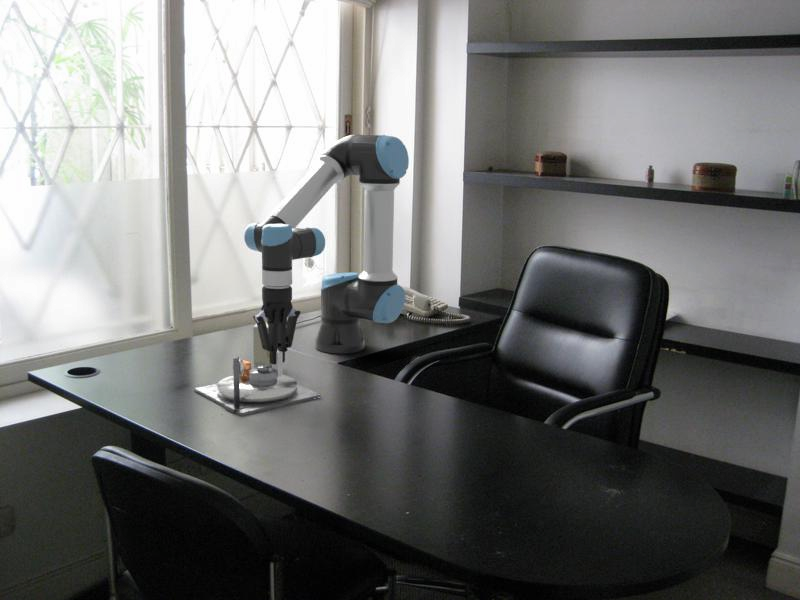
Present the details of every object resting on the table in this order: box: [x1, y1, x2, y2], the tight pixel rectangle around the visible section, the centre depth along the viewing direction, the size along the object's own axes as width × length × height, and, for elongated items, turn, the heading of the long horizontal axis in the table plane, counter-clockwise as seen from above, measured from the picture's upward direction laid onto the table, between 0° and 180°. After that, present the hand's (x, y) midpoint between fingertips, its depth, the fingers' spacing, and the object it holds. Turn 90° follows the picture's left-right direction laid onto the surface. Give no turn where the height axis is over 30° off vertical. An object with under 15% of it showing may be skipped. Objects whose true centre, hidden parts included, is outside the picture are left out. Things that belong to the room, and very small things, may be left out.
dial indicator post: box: [224, 356, 248, 415], centre depth 205 cm, size 4×6×13 cm
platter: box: [216, 359, 298, 402], centre depth 216 cm, size 20×20×5 cm
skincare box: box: [252, 322, 272, 369], centre depth 240 cm, size 6×4×12 cm
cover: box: [249, 365, 277, 387], centre depth 217 cm, size 7×7×4 cm
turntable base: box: [194, 383, 322, 417], centre depth 217 cm, size 23×23×1 cm
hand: (277, 375), depth 220 cm, fingers closed
